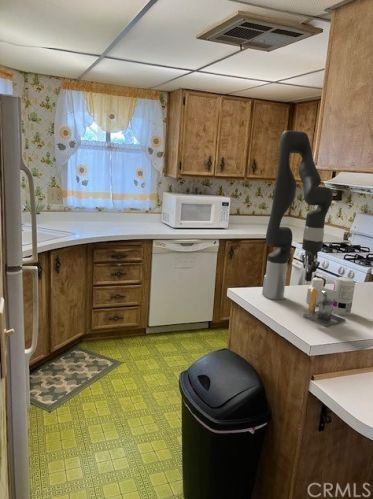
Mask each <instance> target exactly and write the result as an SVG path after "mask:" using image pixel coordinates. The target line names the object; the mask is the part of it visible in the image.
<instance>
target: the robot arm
mask: <svg viewBox="0 0 373 499" xmlns="http://www.w3.org/2000/svg"><path fill="white" fill-rule="evenodd" d="M278 144H279V145H278V146H279V147H278V159H277V160H278V162H277V172H276V177H275V178H276V179H275V184H274V189H273V190H274V191H273V198H272V206H271V211H270V216H269V220H268V225H267V229H266V234H265V241H266V244H267V246H268V247H270V248H276V249H275V250H274V251H272V252H270V253H269V254H268V255H267V261H266V267H265V268H266V270H265V275H264V276H263V283H262V291H261V292H262V293H261V295H263V296H264V297H265V298H267V299H271V300H282V299H284V295H285V288H286V287H285V286H286V280H287V270H288V261H289V259H290V256H291V250H292V245H293V244H292V243H293V232H292V231H293V230H292V229H291V228H290V227H289V226H281V223H282V219H283V217H284V216H285V214H286V212H287V211H288V210H289V209H290V207H292V204H293V203H294V200H295V197H296V191H297V180H296V178H295V176H294V174H293V171H292V168H291V166H290V154H299V156H300V157H301V160H300V164H299V165H298V175H299V177H300V180H301V183H302V186H303V188H302V189H303V200H304V202H305V203H306V204H307V205H309V206H317V208H316V209H315V210H312V211H308V212H307V213H306V216H305V217H306V218H305V224H304V230H303V237H302V243H301V244H302V246H301V249H302V250H304V254H302V255H301V259H302V265H303V266H302V268H303V269H304V271H305V275H304V280H305V281H306V282H312V278H313V273H315V272H316V271H317V270H318V268H319V266H320V264H321V262H320V261H318V257H319V256H318V255H319V254H318V253H319V252H322V250H323V243H324V237H325V236H324V235H325V224H326V223H325V221H326V216H327V214H328V213H329V212H328V211H329V210H330V206H331V204H332V202H333V197H334V195H333V191H332V189H331V188H330V187H325V186H320V185H321V183H322V179H321V175H320V174H319V170H318V169H317V167H316V164H315V161H314V155H313V152H312V148H311V147H312V146H311V142H310V138H309V136H308V134H307V133H306V132H304V131H301V130H299V131H298V130H287V129H286V130H284V131H283V132H282V134H281V135H280V139H279V143H278Z"/></svg>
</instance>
